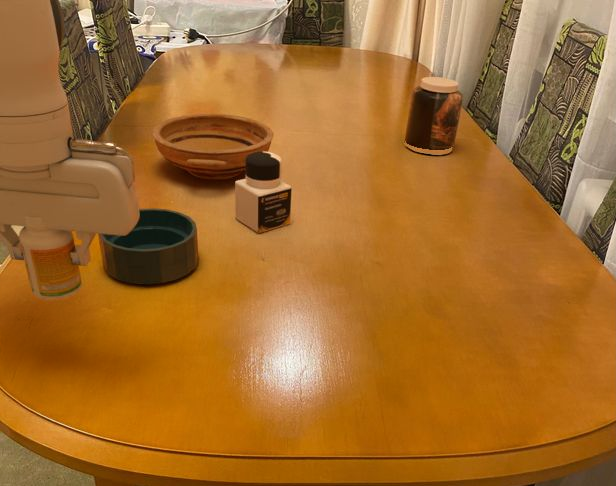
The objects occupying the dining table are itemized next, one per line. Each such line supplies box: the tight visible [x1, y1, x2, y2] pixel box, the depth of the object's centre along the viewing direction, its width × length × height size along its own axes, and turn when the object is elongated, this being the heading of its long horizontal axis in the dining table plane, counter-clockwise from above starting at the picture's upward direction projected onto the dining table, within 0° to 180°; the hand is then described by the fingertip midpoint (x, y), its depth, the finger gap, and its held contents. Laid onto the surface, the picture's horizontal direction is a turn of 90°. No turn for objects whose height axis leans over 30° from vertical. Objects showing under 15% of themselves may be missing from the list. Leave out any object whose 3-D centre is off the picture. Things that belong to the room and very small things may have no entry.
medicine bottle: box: [234, 151, 293, 234], centre depth 104 cm, size 7×7×12 cm
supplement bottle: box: [18, 216, 83, 301], centre depth 66 cm, size 5×5×10 cm
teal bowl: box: [97, 207, 200, 285], centre depth 92 cm, size 14×14×6 cm
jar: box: [404, 76, 464, 150], centre depth 141 cm, size 12×12×15 cm
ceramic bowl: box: [151, 113, 274, 180], centre depth 124 cm, size 30×24×8 cm
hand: (51, 260), depth 67 cm, fingers closed on supplement bottle, 5 cm apart
